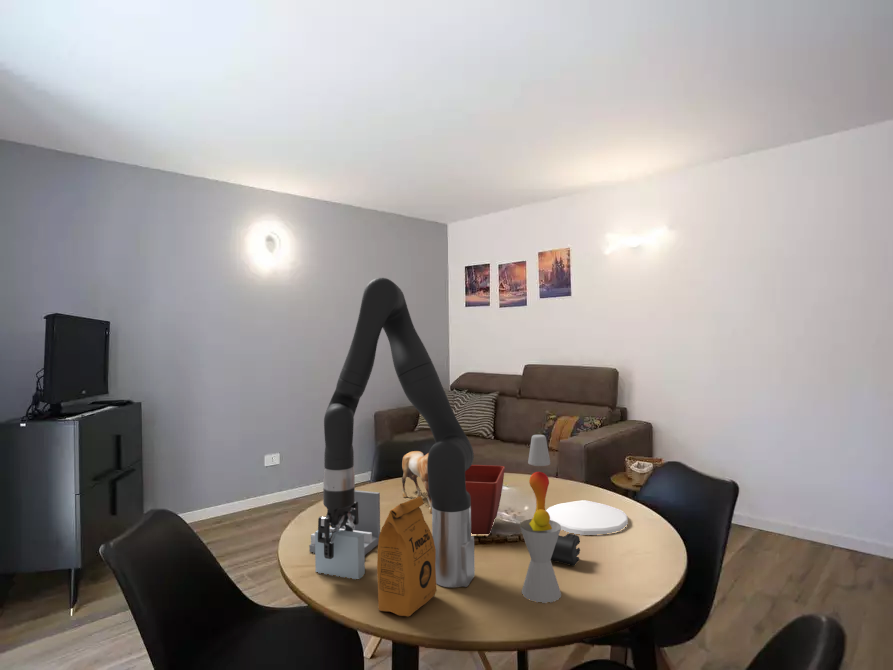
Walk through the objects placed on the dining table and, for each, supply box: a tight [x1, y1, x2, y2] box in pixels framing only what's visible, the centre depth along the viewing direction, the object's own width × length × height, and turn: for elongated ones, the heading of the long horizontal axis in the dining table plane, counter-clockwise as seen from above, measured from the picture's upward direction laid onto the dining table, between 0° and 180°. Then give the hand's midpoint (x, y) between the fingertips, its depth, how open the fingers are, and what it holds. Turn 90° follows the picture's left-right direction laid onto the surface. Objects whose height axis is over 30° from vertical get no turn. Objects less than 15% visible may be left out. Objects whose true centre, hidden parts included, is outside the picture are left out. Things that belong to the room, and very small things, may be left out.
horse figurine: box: [401, 450, 432, 514], centre depth 180 cm, size 31×8×21 cm, turn 28°
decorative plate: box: [545, 499, 629, 536], centre depth 160 cm, size 25×4×25 cm
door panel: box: [314, 529, 366, 580], centre depth 127 cm, size 12×3×10 cm, turn 69°
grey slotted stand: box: [308, 489, 381, 556], centre depth 142 cm, size 15×12×14 cm
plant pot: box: [465, 464, 506, 534], centre depth 155 cm, size 19×19×17 cm
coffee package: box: [376, 496, 437, 617], centre depth 111 cm, size 10×12×22 cm
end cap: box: [551, 533, 581, 567], centre depth 132 cm, size 10×7×7 cm
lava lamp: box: [519, 434, 562, 604], centre depth 115 cm, size 9×9×35 cm
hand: (339, 551), depth 127 cm, fingers open, 8 cm apart
